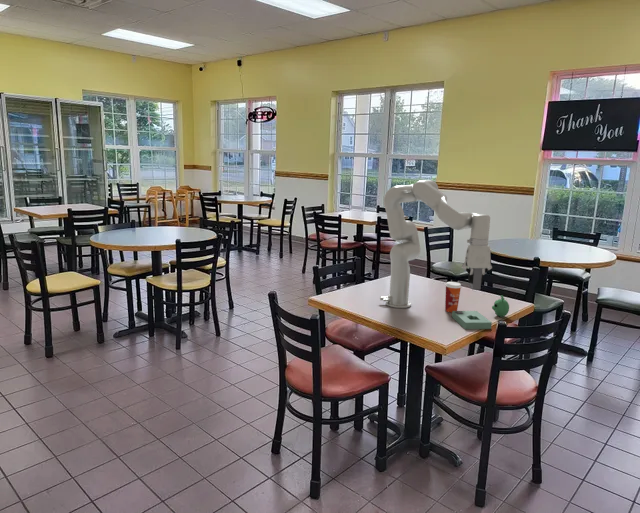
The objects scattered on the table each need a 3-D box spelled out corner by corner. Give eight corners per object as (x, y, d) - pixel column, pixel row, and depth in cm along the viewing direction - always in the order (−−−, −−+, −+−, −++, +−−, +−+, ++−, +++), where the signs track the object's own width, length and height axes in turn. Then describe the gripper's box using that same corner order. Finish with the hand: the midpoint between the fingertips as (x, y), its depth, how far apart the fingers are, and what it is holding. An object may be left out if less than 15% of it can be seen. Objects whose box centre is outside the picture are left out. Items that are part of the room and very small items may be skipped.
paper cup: (450, 314, 229) (453, 286, 226) (439, 309, 235) (442, 282, 232) (462, 312, 232) (465, 284, 229) (451, 307, 239) (454, 280, 236)
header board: (464, 329, 209) (465, 321, 208) (451, 316, 225) (452, 310, 224) (491, 328, 210) (491, 321, 210) (476, 316, 226) (477, 310, 225)
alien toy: (490, 313, 232) (492, 293, 230) (507, 315, 230) (509, 295, 228) (491, 317, 226) (493, 297, 224) (508, 319, 224) (511, 299, 221)
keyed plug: (472, 289, 210) (474, 267, 208) (468, 286, 215) (470, 265, 213) (480, 289, 210) (482, 267, 208) (476, 286, 215) (478, 265, 213)
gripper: (463, 243, 203) (460, 285, 207) (501, 243, 205) (497, 285, 208) (457, 240, 211) (454, 280, 214) (493, 241, 212) (489, 280, 216)
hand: (475, 282), depth 211 cm, fingers closed on keyed plug, 3 cm apart
